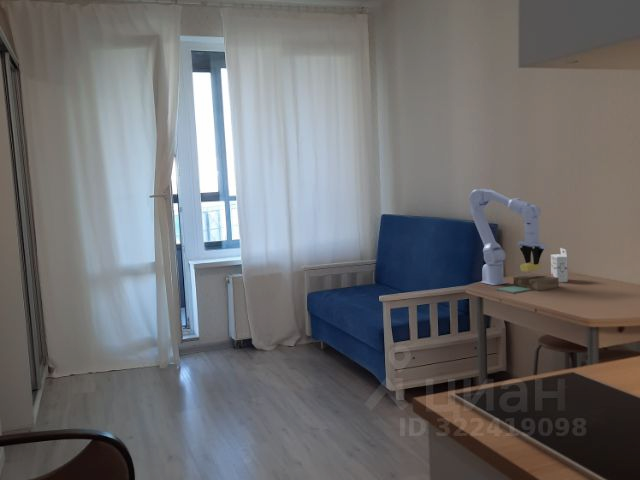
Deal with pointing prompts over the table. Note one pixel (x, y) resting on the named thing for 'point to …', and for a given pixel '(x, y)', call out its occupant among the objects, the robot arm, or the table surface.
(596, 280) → the table surface
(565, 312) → the table surface
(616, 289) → the table surface
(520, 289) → the mat
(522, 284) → the pocket board
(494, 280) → the robot arm
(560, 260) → the ink cartridge box
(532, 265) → the slab
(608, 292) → the table surface
